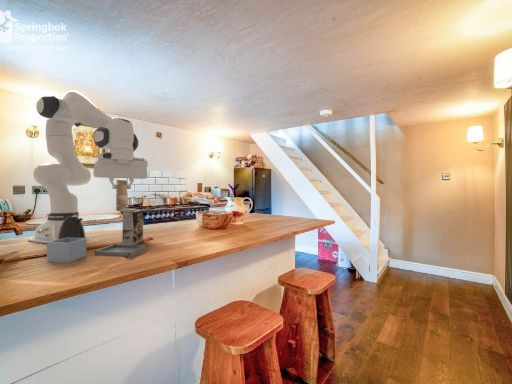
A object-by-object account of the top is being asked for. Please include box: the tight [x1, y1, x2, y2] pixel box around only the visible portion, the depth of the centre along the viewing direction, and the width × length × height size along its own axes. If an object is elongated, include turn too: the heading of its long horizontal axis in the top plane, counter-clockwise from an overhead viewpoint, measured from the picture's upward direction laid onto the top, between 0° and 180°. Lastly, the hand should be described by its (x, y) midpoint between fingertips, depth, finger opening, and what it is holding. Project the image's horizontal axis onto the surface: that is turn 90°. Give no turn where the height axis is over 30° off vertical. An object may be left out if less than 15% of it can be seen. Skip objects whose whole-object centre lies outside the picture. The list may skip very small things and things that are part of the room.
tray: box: [94, 243, 147, 259], centre depth 105 cm, size 15×12×2 cm
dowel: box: [115, 179, 128, 212], centre depth 104 cm, size 4×4×13 cm
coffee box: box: [121, 210, 144, 245], centre depth 123 cm, size 9×6×16 cm
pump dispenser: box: [57, 216, 87, 240], centre depth 108 cm, size 10×10×15 cm
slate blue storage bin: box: [46, 237, 87, 264], centre depth 93 cm, size 8×8×8 cm
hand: (121, 188), depth 104 cm, fingers closed on dowel, 4 cm apart
